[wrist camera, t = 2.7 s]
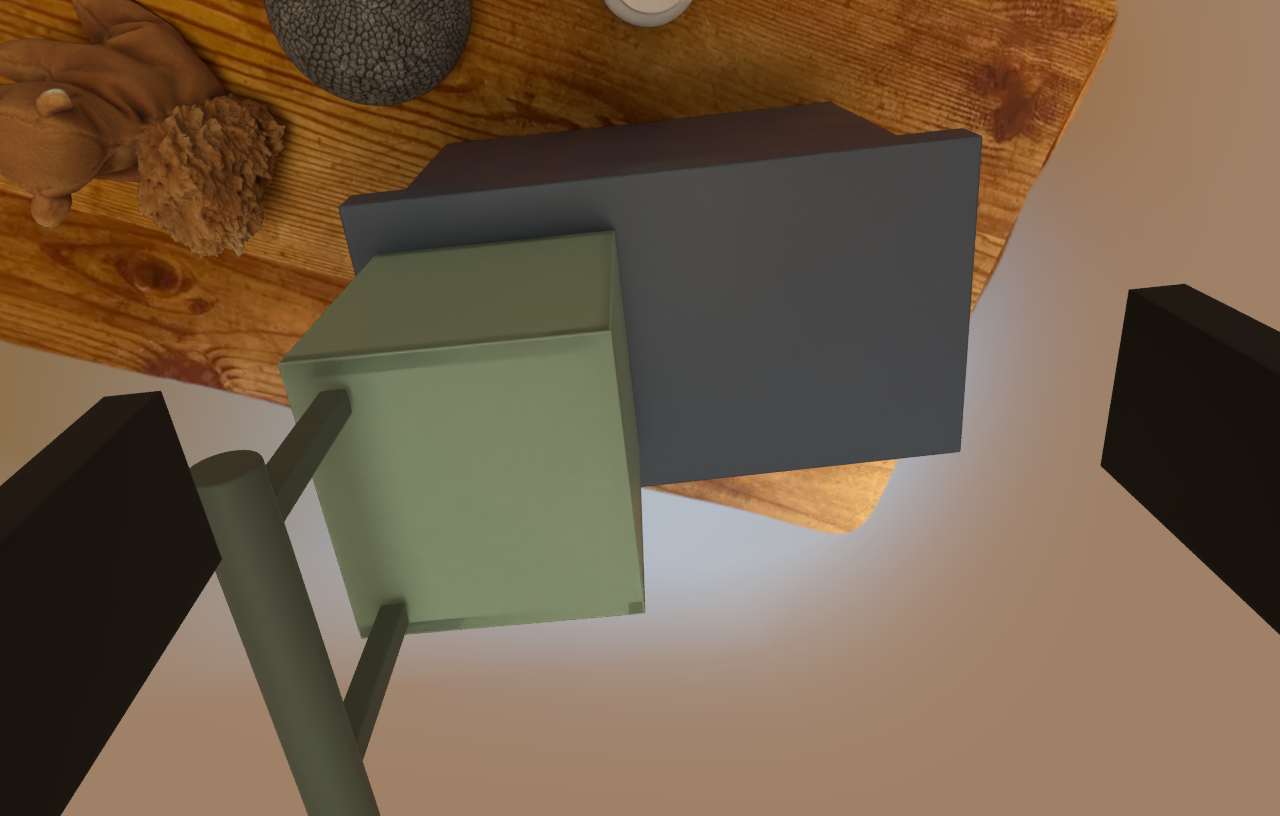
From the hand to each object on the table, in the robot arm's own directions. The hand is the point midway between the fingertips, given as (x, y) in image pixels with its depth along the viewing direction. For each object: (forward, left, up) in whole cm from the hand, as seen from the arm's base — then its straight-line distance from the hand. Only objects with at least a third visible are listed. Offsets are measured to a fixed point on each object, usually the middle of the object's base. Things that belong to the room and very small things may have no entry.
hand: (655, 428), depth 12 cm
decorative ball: (+11, -6, -44) cm, 46 cm away
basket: (+1, +8, -14) cm, 16 cm away
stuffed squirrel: (+24, -1, -44) cm, 50 cm away
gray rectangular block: (-2, +8, -44) cm, 44 cm away
